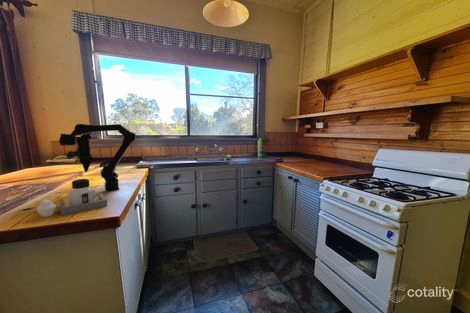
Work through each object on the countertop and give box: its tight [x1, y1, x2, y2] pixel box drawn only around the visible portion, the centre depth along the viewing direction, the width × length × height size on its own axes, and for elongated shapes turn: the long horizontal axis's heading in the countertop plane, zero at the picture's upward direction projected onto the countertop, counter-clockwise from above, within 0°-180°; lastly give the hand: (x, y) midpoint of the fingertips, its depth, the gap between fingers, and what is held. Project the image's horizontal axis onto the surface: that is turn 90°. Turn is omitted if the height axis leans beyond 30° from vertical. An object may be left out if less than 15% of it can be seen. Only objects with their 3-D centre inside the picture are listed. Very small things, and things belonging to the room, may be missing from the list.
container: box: [67, 178, 96, 206], centre depth 95 cm, size 8×8×13 cm
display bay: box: [59, 192, 108, 216], centre depth 95 cm, size 17×14×3 cm
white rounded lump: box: [36, 199, 57, 218], centre depth 83 cm, size 6×6×7 cm
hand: (86, 171), depth 115 cm, fingers closed
